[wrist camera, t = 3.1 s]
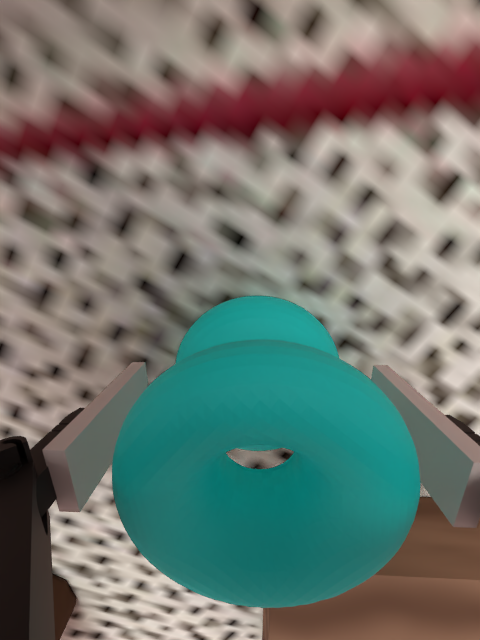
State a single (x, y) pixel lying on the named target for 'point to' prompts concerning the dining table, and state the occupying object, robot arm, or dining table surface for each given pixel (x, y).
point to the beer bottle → (62, 604)
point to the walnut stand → (400, 592)
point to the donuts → (265, 484)
